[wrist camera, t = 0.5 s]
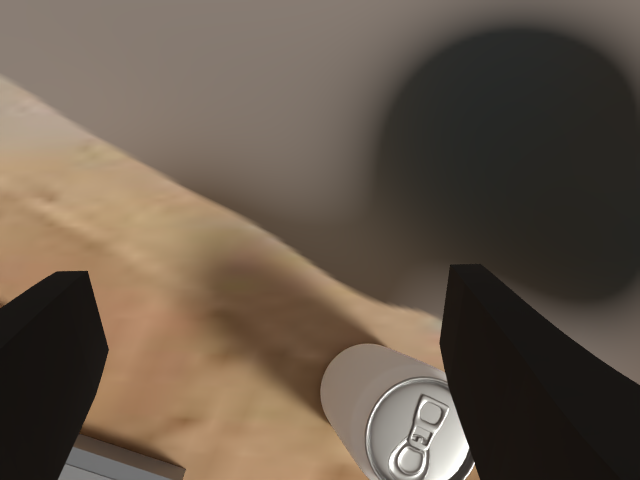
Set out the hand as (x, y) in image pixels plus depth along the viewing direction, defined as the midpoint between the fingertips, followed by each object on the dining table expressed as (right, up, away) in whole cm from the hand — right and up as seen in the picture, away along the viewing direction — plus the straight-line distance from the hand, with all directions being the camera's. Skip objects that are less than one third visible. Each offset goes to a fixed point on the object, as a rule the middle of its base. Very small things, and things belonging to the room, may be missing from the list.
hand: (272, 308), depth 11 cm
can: (+4, -9, +26) cm, 28 cm away
